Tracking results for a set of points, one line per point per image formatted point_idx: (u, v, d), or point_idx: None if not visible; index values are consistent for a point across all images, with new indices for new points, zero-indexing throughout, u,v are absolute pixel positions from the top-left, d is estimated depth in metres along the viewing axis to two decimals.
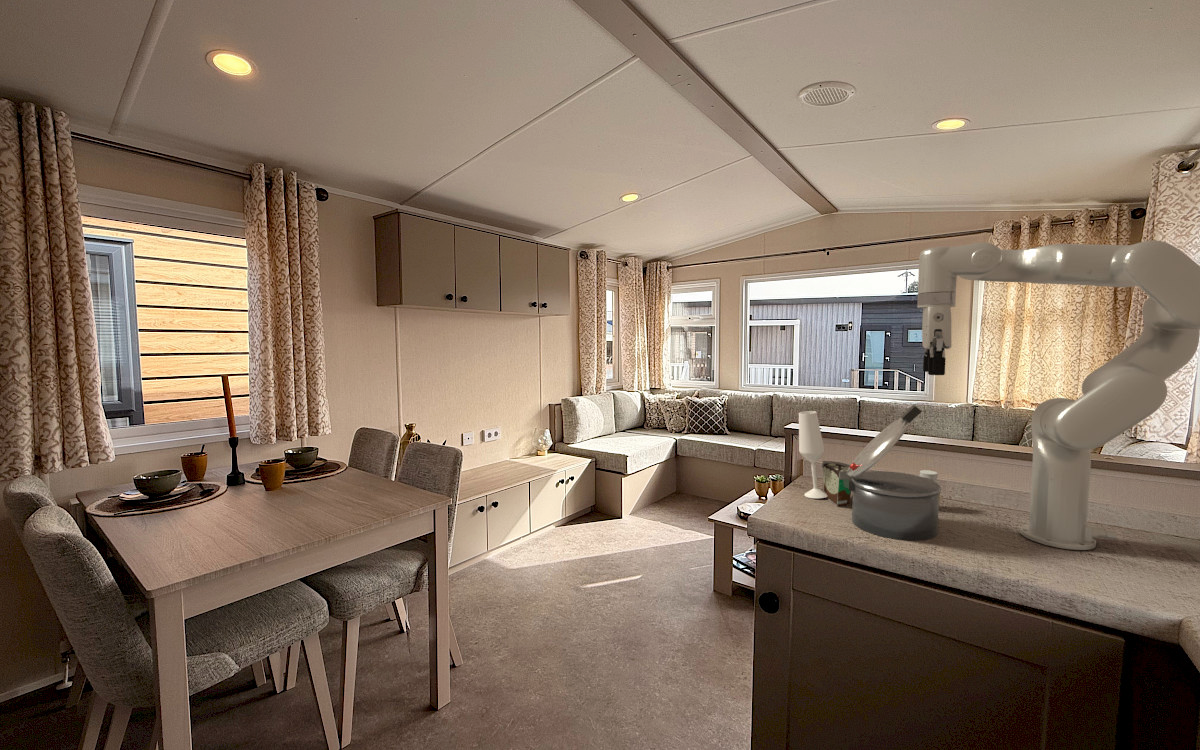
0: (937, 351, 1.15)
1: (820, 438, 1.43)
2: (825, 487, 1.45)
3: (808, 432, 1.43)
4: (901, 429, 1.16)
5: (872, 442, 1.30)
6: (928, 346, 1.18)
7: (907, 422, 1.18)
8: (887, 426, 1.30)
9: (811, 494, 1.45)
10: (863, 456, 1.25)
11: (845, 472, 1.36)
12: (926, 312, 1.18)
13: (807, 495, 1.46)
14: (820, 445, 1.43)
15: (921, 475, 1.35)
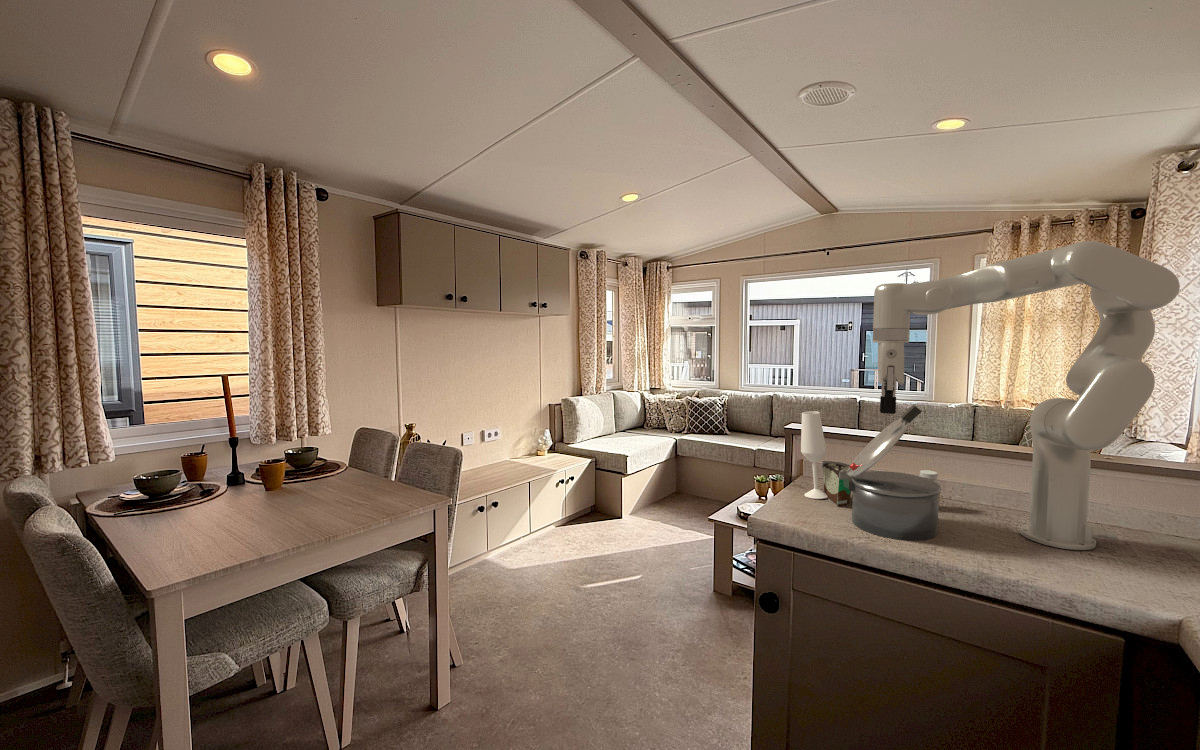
0: None
1: (822, 439, 1.43)
2: (825, 487, 1.45)
3: (811, 432, 1.43)
4: (901, 429, 1.16)
5: (872, 442, 1.30)
6: (881, 382, 1.18)
7: (907, 422, 1.18)
8: (887, 426, 1.30)
9: (811, 494, 1.45)
10: (863, 456, 1.25)
11: (845, 472, 1.36)
12: (880, 348, 1.19)
13: (807, 495, 1.46)
14: (822, 446, 1.43)
15: (921, 475, 1.35)
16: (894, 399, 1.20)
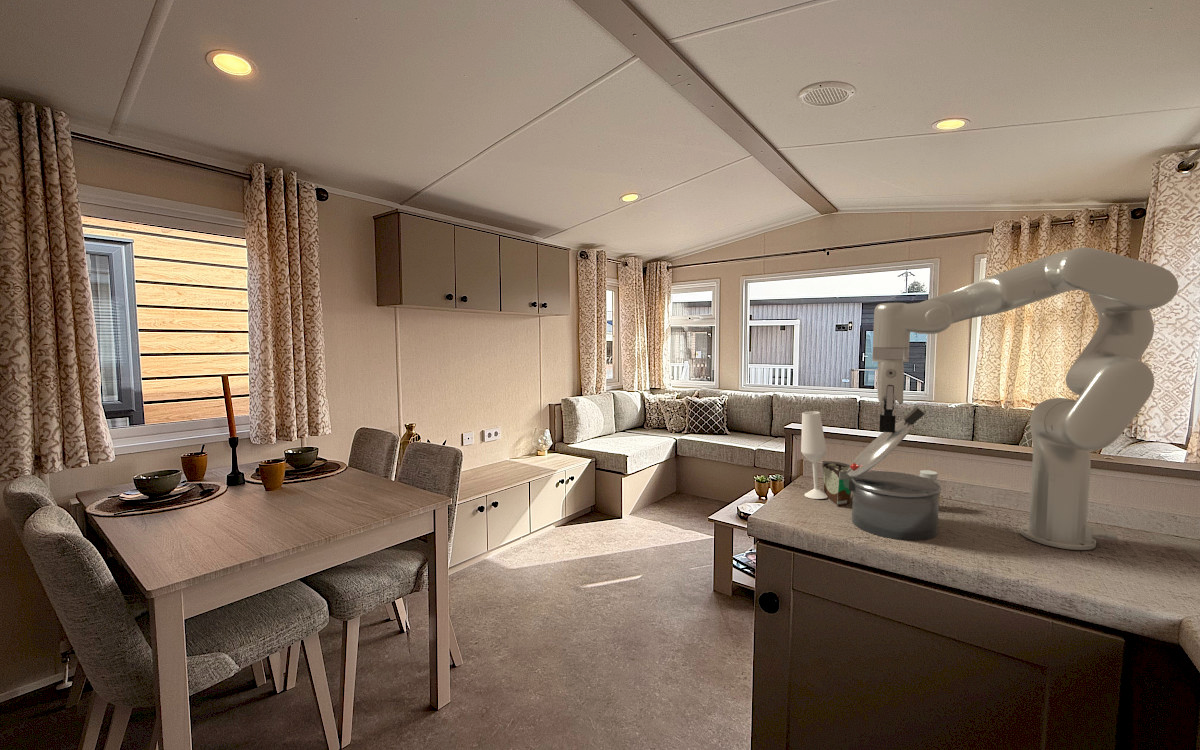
0: None
1: (822, 439, 1.43)
2: (825, 487, 1.45)
3: (811, 433, 1.43)
4: (903, 431, 1.16)
5: (873, 443, 1.29)
6: (881, 401, 1.18)
7: (910, 424, 1.18)
8: None
9: (811, 494, 1.45)
10: (864, 456, 1.25)
11: (845, 472, 1.36)
12: (879, 367, 1.19)
13: (807, 495, 1.46)
14: (822, 446, 1.43)
15: (921, 475, 1.35)
16: (893, 418, 1.21)
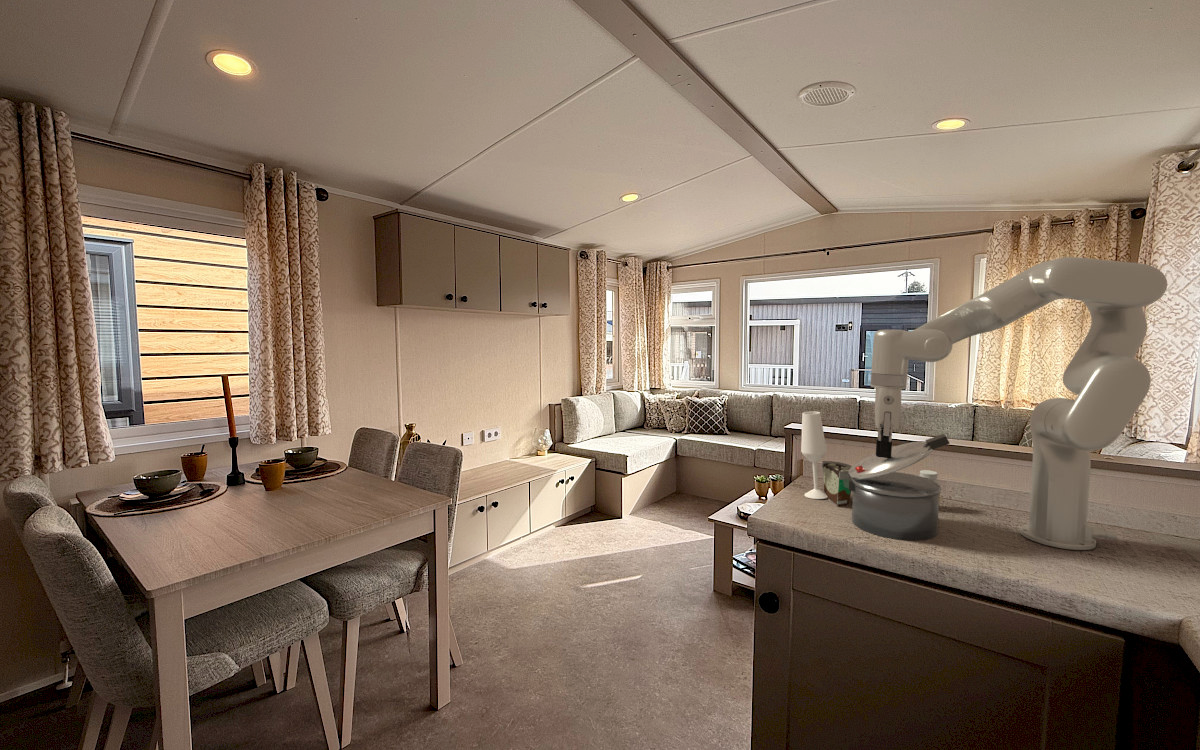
0: None
1: (823, 439, 1.43)
2: (825, 487, 1.45)
3: (811, 433, 1.43)
4: (924, 453, 1.14)
5: None
6: (878, 427, 1.19)
7: (931, 448, 1.17)
8: None
9: (811, 494, 1.45)
10: (871, 463, 1.25)
11: (845, 472, 1.36)
12: (877, 393, 1.20)
13: (807, 495, 1.46)
14: (822, 446, 1.42)
15: (921, 475, 1.35)
16: (890, 444, 1.22)
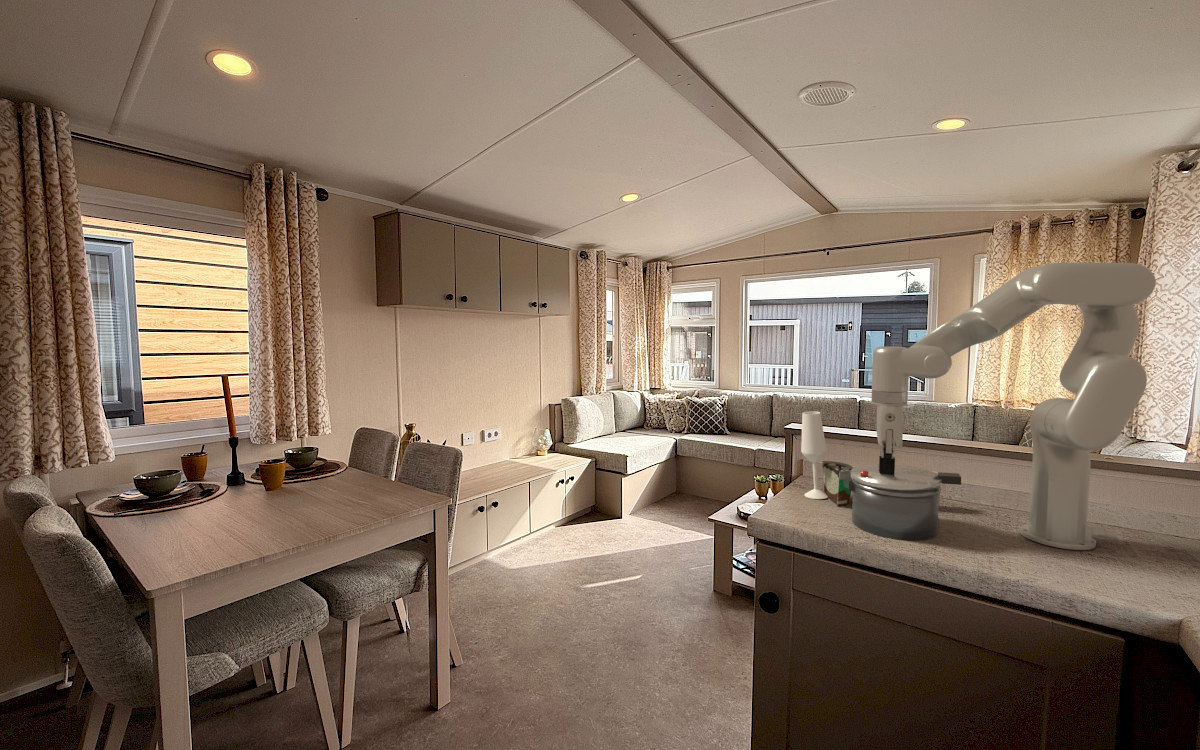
0: None
1: (823, 439, 1.43)
2: (825, 487, 1.45)
3: (811, 433, 1.42)
4: (934, 484, 1.14)
5: None
6: (880, 444, 1.19)
7: (941, 482, 1.16)
8: None
9: (811, 494, 1.45)
10: (876, 472, 1.25)
11: (845, 472, 1.36)
12: (879, 410, 1.20)
13: (807, 495, 1.46)
14: (822, 446, 1.42)
15: None
16: (893, 460, 1.22)
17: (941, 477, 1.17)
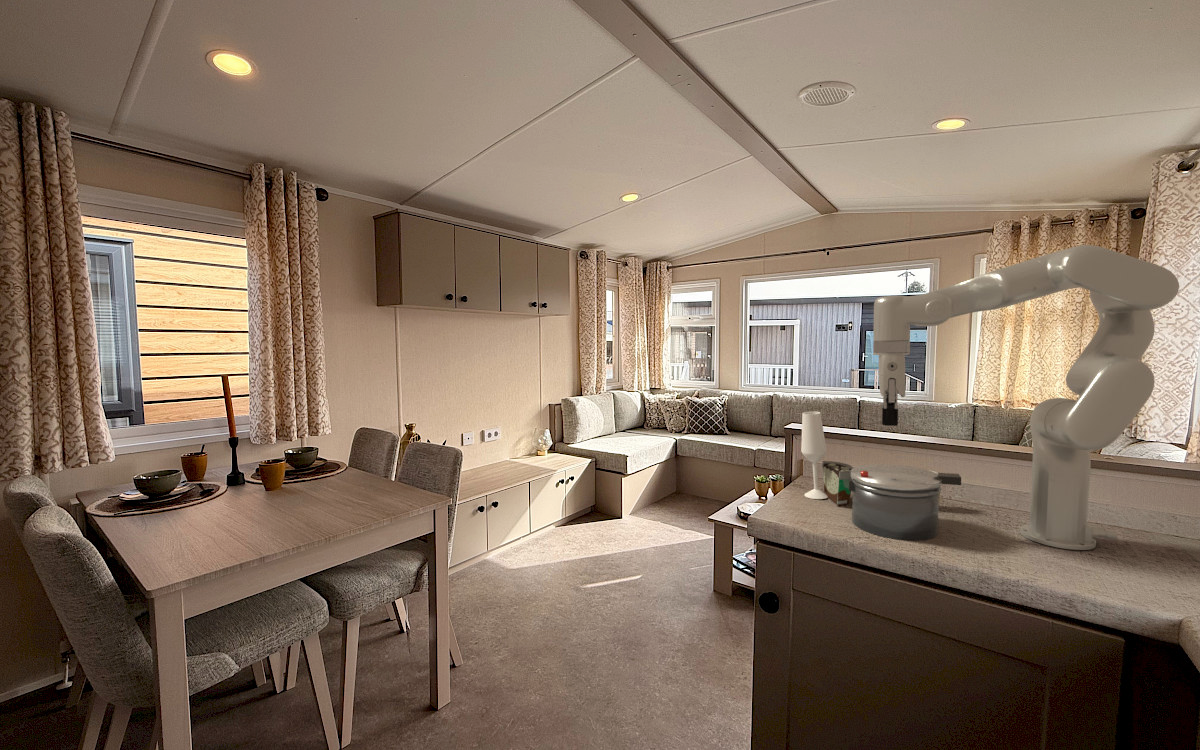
0: None
1: (823, 439, 1.43)
2: (825, 487, 1.45)
3: (811, 433, 1.42)
4: (934, 484, 1.14)
5: (890, 467, 1.28)
6: (883, 394, 1.18)
7: (941, 482, 1.16)
8: (913, 467, 1.28)
9: (811, 494, 1.45)
10: (876, 472, 1.25)
11: (845, 472, 1.36)
12: (881, 360, 1.19)
13: (807, 495, 1.46)
14: (822, 446, 1.42)
15: None
16: (896, 411, 1.21)
17: (941, 477, 1.17)
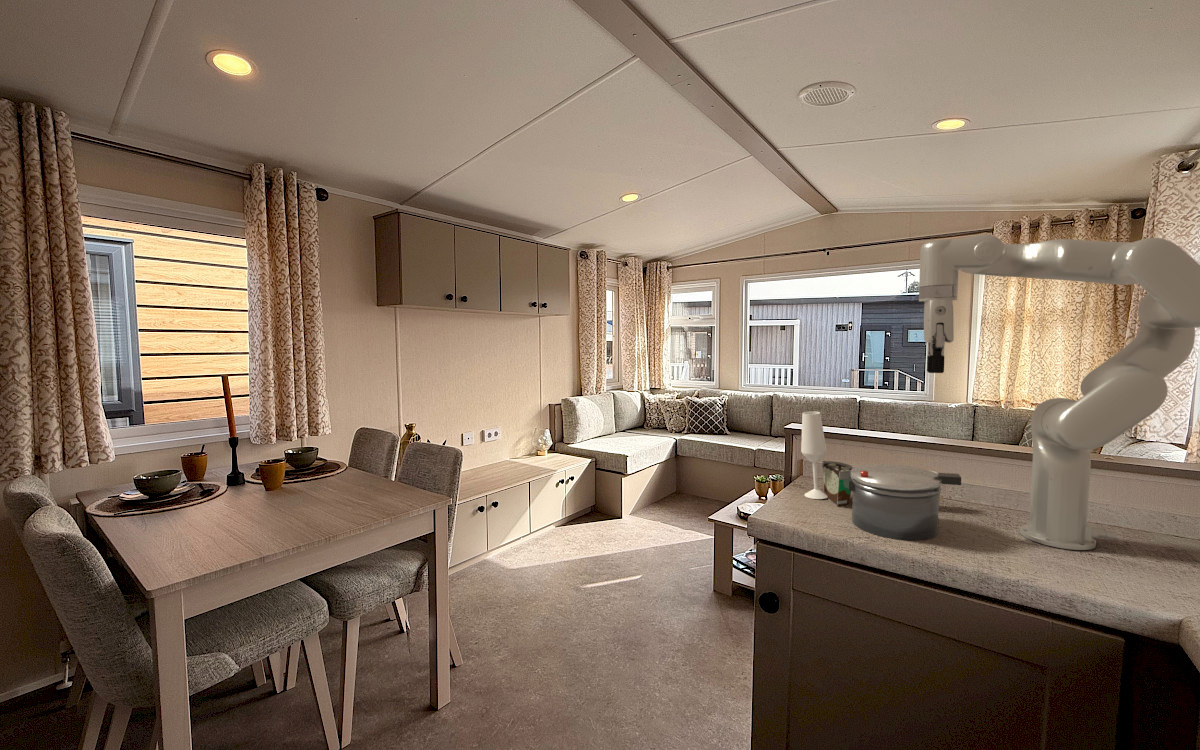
0: None
1: (822, 439, 1.43)
2: (825, 487, 1.45)
3: (811, 433, 1.42)
4: (934, 484, 1.14)
5: (890, 467, 1.28)
6: (930, 340, 1.17)
7: (941, 482, 1.16)
8: (913, 467, 1.28)
9: (811, 494, 1.45)
10: (876, 472, 1.25)
11: (845, 472, 1.36)
12: (928, 305, 1.17)
13: (807, 495, 1.46)
14: (822, 446, 1.42)
15: None
16: (942, 358, 1.19)
17: (941, 477, 1.17)
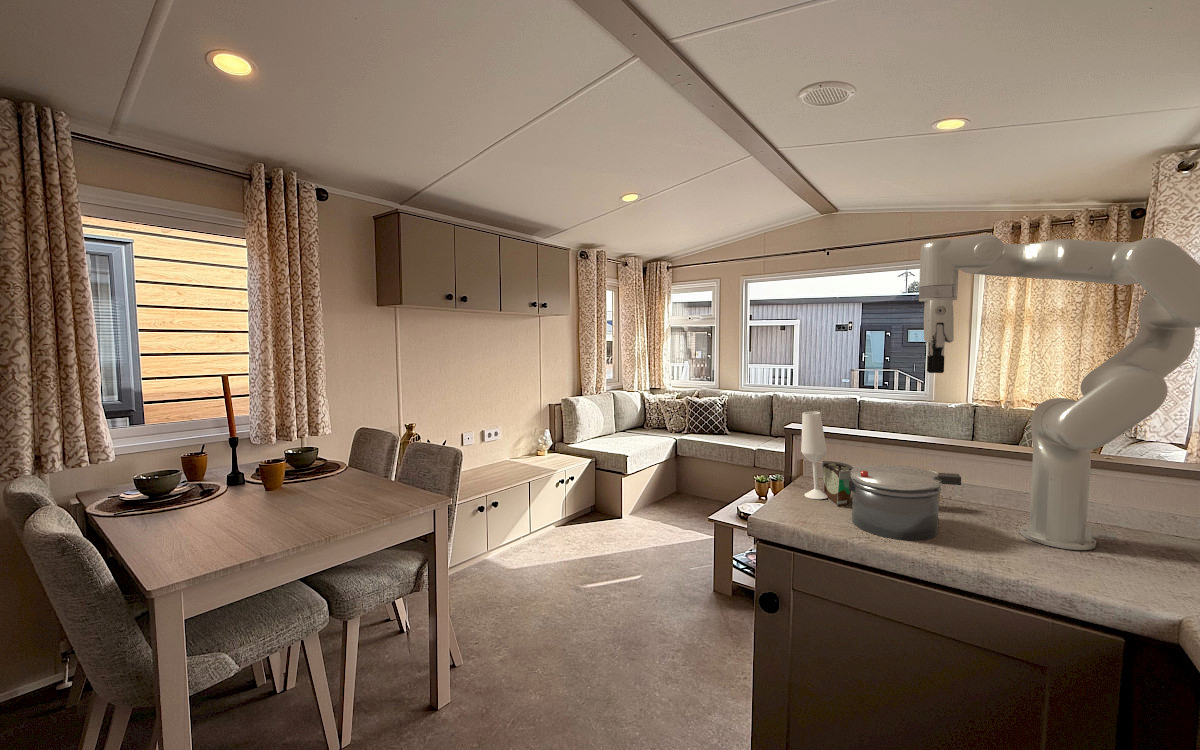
0: None
1: (823, 439, 1.43)
2: (825, 487, 1.45)
3: (811, 433, 1.42)
4: (934, 484, 1.14)
5: (890, 467, 1.28)
6: (930, 340, 1.17)
7: (941, 482, 1.16)
8: (913, 467, 1.28)
9: (811, 494, 1.45)
10: (876, 472, 1.25)
11: (845, 472, 1.36)
12: (928, 305, 1.17)
13: (807, 495, 1.46)
14: (822, 446, 1.42)
15: None
16: (942, 358, 1.19)
17: (941, 477, 1.17)
